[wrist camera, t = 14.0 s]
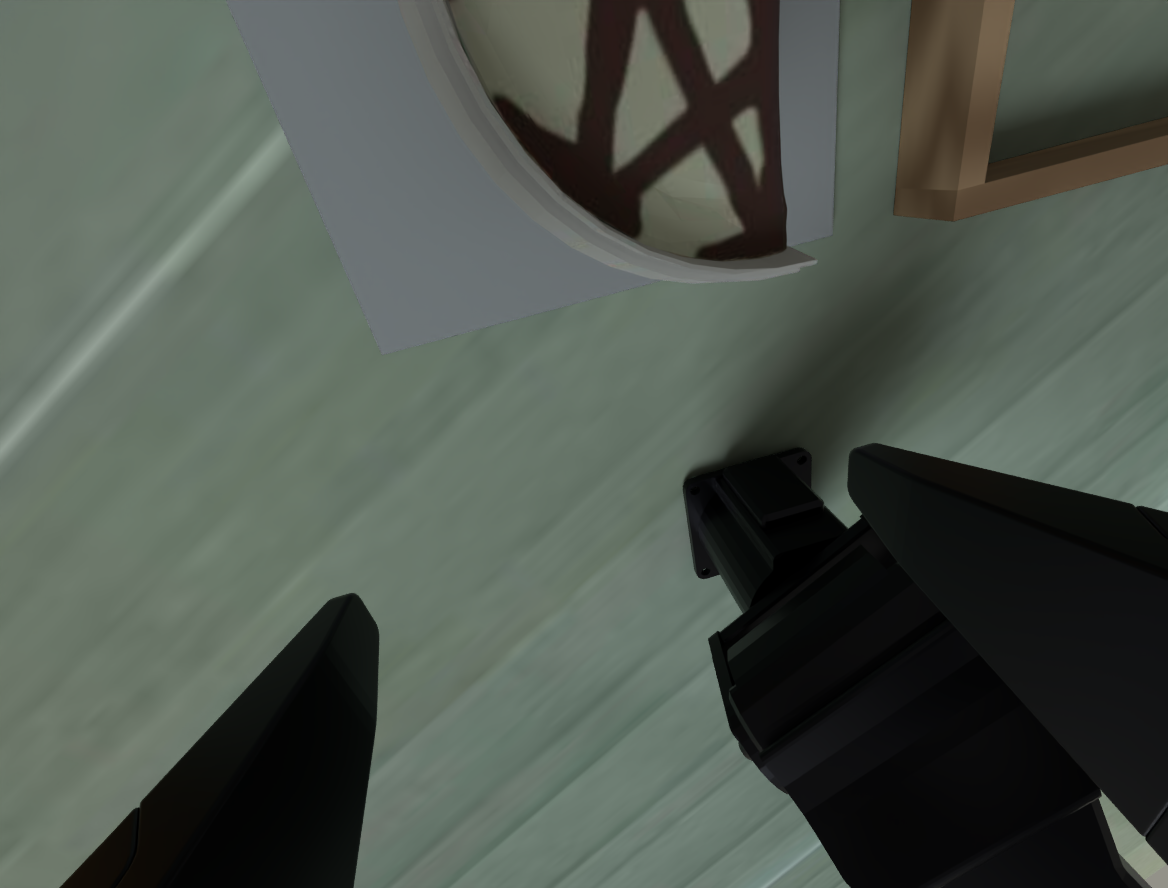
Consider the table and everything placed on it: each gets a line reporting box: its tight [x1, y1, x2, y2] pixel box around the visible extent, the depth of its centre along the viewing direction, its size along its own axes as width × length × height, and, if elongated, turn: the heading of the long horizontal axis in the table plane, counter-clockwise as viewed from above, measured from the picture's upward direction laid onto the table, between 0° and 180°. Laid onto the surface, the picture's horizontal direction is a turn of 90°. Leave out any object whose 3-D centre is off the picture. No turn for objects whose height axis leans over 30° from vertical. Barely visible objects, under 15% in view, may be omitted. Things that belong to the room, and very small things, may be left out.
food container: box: [397, 0, 817, 283], centre depth 11 cm, size 12×6×10 cm, turn 15°
